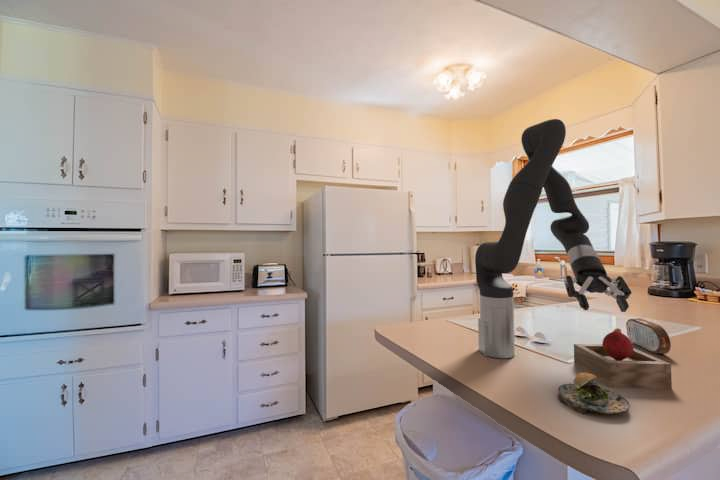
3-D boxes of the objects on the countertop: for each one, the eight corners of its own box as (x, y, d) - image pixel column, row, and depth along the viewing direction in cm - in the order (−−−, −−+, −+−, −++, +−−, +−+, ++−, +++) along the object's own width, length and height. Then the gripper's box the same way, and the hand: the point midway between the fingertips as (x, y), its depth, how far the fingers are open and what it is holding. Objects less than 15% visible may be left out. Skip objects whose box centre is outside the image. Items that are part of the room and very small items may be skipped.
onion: (626, 367, 71) (625, 333, 71) (598, 359, 76) (597, 327, 76) (638, 362, 74) (637, 329, 74) (609, 355, 79) (609, 324, 79)
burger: (584, 422, 56) (583, 381, 57) (545, 391, 68) (544, 357, 68) (648, 421, 56) (647, 380, 57) (599, 390, 68) (598, 357, 68)
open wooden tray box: (609, 389, 69) (608, 362, 69) (574, 366, 82) (573, 343, 82) (671, 391, 68) (671, 364, 68) (626, 367, 81) (625, 344, 81)
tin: (672, 358, 85) (671, 328, 85) (659, 357, 86) (658, 327, 86) (635, 341, 100) (634, 315, 100) (624, 340, 101) (623, 315, 101)
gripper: (561, 254, 91) (578, 300, 80) (618, 254, 87) (644, 302, 76) (555, 271, 96) (570, 315, 85) (608, 271, 92) (632, 318, 81)
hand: (605, 309), depth 81 cm, fingers open, 8 cm apart
